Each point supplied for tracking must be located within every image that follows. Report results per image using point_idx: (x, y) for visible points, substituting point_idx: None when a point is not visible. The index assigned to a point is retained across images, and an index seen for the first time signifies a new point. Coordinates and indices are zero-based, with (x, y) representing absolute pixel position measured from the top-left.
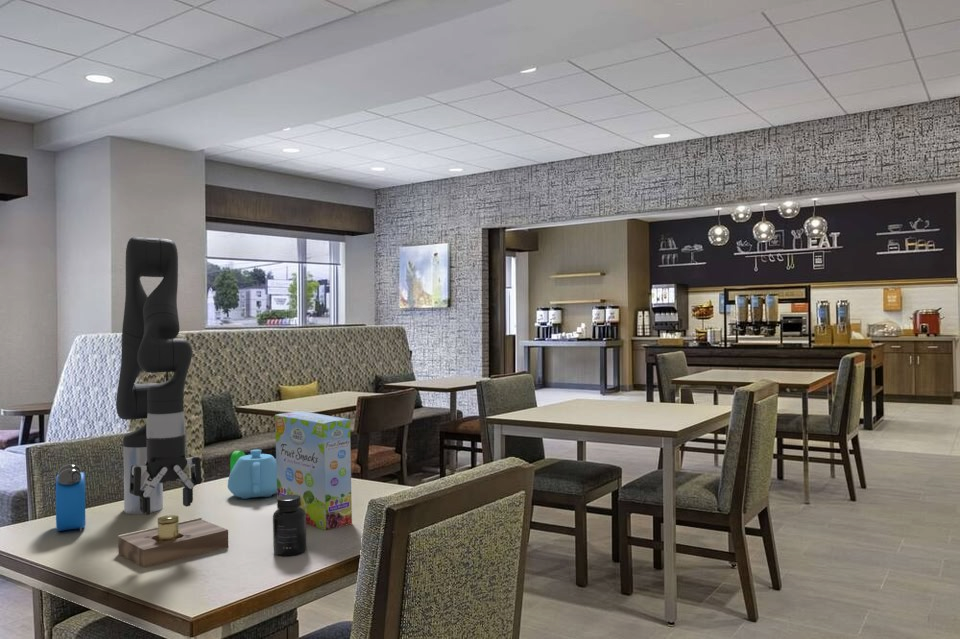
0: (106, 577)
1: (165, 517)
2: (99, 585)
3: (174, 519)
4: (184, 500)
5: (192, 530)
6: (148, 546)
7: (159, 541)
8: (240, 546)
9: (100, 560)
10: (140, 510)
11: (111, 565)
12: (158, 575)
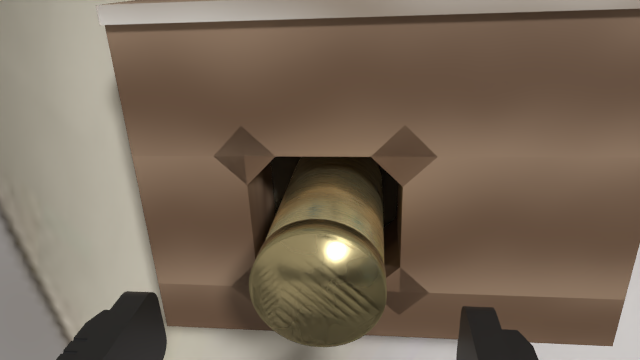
0: (71, 246)
1: (307, 271)
2: (44, 300)
3: (335, 342)
4: (467, 356)
5: (482, 218)
6: (197, 299)
7: None
8: (625, 299)
9: (69, 6)
10: (96, 316)
11: (104, 123)
12: (224, 352)
